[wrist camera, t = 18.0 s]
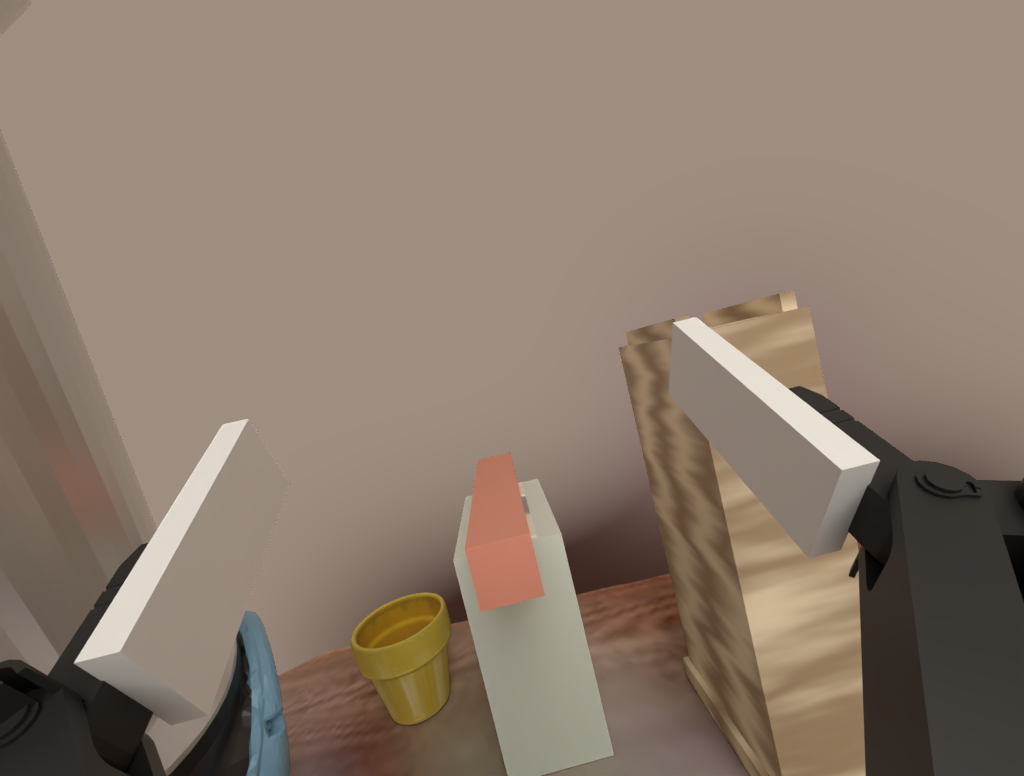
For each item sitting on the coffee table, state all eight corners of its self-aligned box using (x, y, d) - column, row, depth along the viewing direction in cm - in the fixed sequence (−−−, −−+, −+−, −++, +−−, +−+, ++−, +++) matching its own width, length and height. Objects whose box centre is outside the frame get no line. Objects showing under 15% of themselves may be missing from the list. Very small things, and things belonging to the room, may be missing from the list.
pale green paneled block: (614, 755, 37) (560, 530, 36) (509, 784, 36) (452, 558, 35) (573, 628, 55) (537, 477, 54) (503, 647, 54) (465, 495, 53)
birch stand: (923, 802, 28) (818, 283, 27) (791, 840, 28) (677, 317, 26) (773, 652, 43) (700, 314, 42) (686, 676, 43) (609, 336, 41)
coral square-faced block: (544, 595, 26) (529, 532, 26) (480, 612, 26) (464, 549, 26) (518, 484, 52) (510, 452, 52) (485, 492, 52) (477, 460, 52)
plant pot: (374, 690, 52) (354, 612, 52) (458, 655, 55) (439, 581, 54) (370, 760, 42) (345, 664, 42) (473, 713, 45) (450, 623, 44)
